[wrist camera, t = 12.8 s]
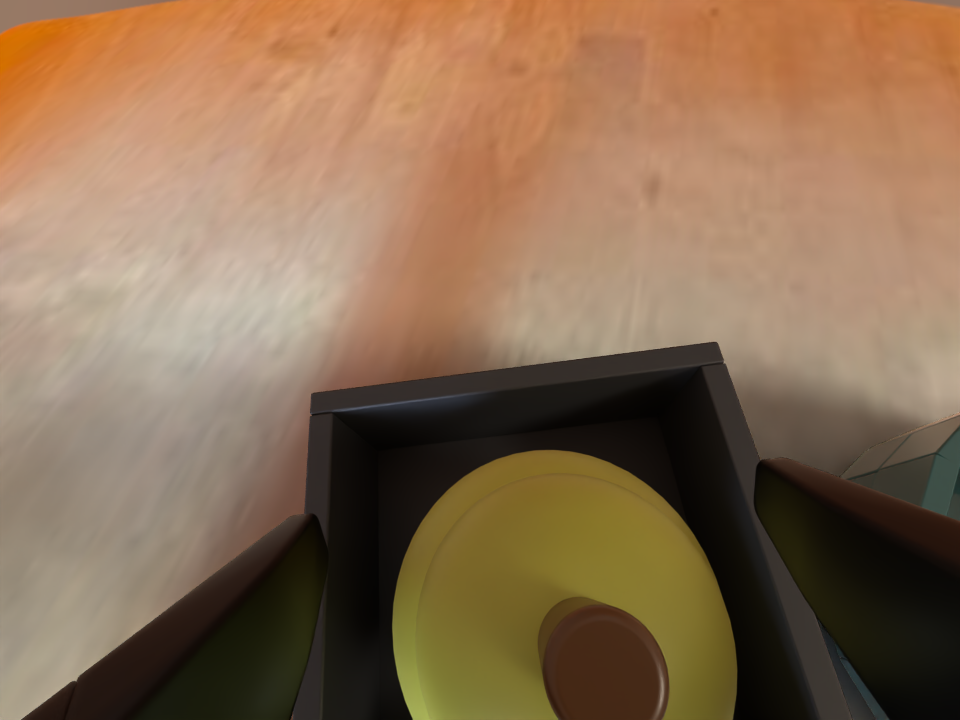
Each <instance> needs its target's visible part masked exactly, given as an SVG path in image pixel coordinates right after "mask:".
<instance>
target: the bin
mask: <svg viewBox="0 0 960 720" xmlns="http://www.w3.org/2000/svg"><path fill="white" fill-rule="evenodd" d="M310 413H311V415H312V416H310V424H309V442H308V460H307V477H306V495H305V512H304V514H310V513H313V514H315V515H316V516H317V517H318V519H319V522H320V525H321V528H322V531H323V535H324V538H325V541H326V545H327V548H328V552H329V565H328V570H327V575H326V580H325V585H324V590H323V595H322V600H321V605H320V610H319V615H318V620H317V625H316V630H315V635H314V640H313V644H312V649H311V653H310V657H309V660H308V664H307V667H306V671H305V674H304V677H303V681H302V684H301V687H300V690H299V694H298V697H297V700H296V703H295V707H294V710H293V720H413V718H412V716H411V714H410V711H409V709H408V707H407V704H406V702H405V699H404V695H403V692H402V689H401V685H400V682H399V678H398V674H397V668H396V662H395V656H394V649H393V631H392V622H393V604H394V597H395V592H396V586H397V580H398V576H399V573H400V570H401V566H402V563H403V559H404V557H405V554H406V552H407V550H408V547H409V545H410V542H411V540H412V538H413V536H414V534H415V533H416V531H417V529H418V527H419V526H420V524H421V522H422V520H423V519H424V518H425V516H426V515H427V514H428V512H429V511H430V509H431V508H432V507H433V505H434V504H435V503H436V502H437V501H438V500H439V499H440V498H441V497H442V496H443V495H444V494H445V492H446V491H447V490H448V489H449V488H451V487H452V486H453V485H454V484H456V483H457V482H458V481H459V480H461V479H462V478H463V477H464V476H466V475H468V474H469V473H471V472H472V471H474V470H476V469H477V468H479V467H481V466H483V465H485V464H487V463H490V462H492V461H494V460H496V459H499V458H502V457H506V456H509V455H512V454H516V453H522V452H528V451H534V450H559V451H570V452H576V453H580V454H585V455H589V456H593V457H595V458H598V459H601V460H604V461H607V462H609V463H612V464H614V465H616V466H618V467H620V468H622V469H624V470H626V471H628V472H629V473H631V474H632V475H634V476H635V477H637V478H638V479H640V480H641V481H643V482H644V483H646V484H647V485H648V486H650V487H651V488H652V489H653V490H654V491H656V492H657V493H658V494H659V495H660V496H662V497H663V498H664V499H665V500H666V501H667V503H668V504H669V505H670V506H671V507H672V508H673V509H674V510H675V511H676V512H677V513H678V514H679V515H680V517H681V518H682V519H683V521H684V522H685V523H686V525H687V526H688V527H689V529H690V530H691V531H692V533H693V534H694V536H695V538H696V539H697V541H698V543H699V544H700V546H701V548H702V549H703V551H704V553H705V555H706V557H707V559H708V561H709V563H710V566H711V568H712V570H713V572H714V574H715V576H716V579H717V582H718V585H719V589H720V592H721V595H722V598H723V601H724V604H725V607H726V610H727V613H728V616H729V619H730V623H731V627H732V632H733V637H734V642H735V649H736V661H737V695H736V701H735V708H734V714H733V720H853V719H852V716H851V714H850V711H849V708H848V705H847V702H846V700H845V697H844V694H843V691H842V688H841V686H840V683H839V680H838V677H837V674H836V672H835V669H834V666H833V663H832V660H831V658H830V655H829V652H828V649H827V646H826V644H825V641H824V638H823V635H822V632H821V630H820V627H819V624H818V621H817V618H816V616H815V613H814V612H813V610H812V609H811V607H810V606H809V604H808V603H807V602H806V600H805V598H804V597H803V595H802V593H801V592H800V590H799V589H798V587H797V585H796V583H795V582H794V580H793V578H792V576H791V575H790V573H789V571H788V569H787V568H786V566H785V564H784V562H783V561H782V559H781V557H780V555H779V554H778V552H777V550H776V548H775V547H774V545H773V543H772V541H771V539H770V538H769V536H768V534H767V532H766V531H765V529H764V527H763V525H762V524H761V522H760V520H759V518H758V516H757V514H756V512H755V509H754V503H753V498H754V486H755V473H756V466H757V464H758V463H759V462H760V459H759V456H758V453H757V451H756V448H755V445H754V442H753V439H752V437H751V434H750V431H749V428H748V425H747V423H746V420H745V417H744V414H743V411H742V409H741V406H740V403H739V400H738V397H737V395H736V392H735V389H734V386H733V383H732V381H731V378H730V375H729V372H728V369H727V367H726V364H724V359H723V357H722V354H721V351H720V348H719V345H718V343H717V342H709V343H701V344H693V345H686V346H678V347H670V348H662V349H654V350H646V351H639V352H631V353H623V354H615V355H607V356H599V357H591V358H584V359H576V360H568V361H560V362H552V363H544V364H536V365H529V366H521V367H513V368H505V369H497V370H489V371H482V372H474V373H466V374H458V375H450V376H442V377H434V378H427V379H419V380H411V381H403V382H395V383H387V384H379V385H372V386H364V387H356V388H348V389H340V390H332V391H325V392H317V393H312V394H311V408H310Z"/></svg>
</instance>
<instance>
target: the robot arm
mask: <svg viewBox="0 0 960 720" xmlns="http://www.w3.org/2000/svg"><path fill="white" fill-rule="evenodd" d="M753 503H754V509H755V512H756V514H757V516H758V518H759V520H760V522H761V524H762V525H763V527H764V529H765V531H766V532H767V534H768V536H769V538H770V539H771V541H772V543H773V545H774V547H775V548H776V550H777V552H778V554H779V555H780V557H781V559H782V561H783V562H784V564H785V566H786V568H787V569H788V571H789V573H790V575H791V576H792V578H793V580H794V582H795V583H796V585H797V587H798V589H799V590H800V592H801V593H802V595H803V597H804V598H805V600H806V602H807V603H808V604H809V606H810V607H811V609H812V610H813V612H814V613H815V615H816V616H817V618H818V619H819V621H820V622H821V623H822V625H823V626H824V628H825V629H826V630H827V632H828V633H829V635H830V636H831V638H832V639H833V640H834V642H835V643H836V645H837V646H838V648H839V649H840V650H841V652H842V653H843V655H844V656H845V657H846V659H847V660H848V662H849V663H850V665H851V666H852V667H853V669H854V670H855V672H856V673H857V674H858V676H859V677H860V679H861V680H862V682H863V683H864V684H865V686H866V687H867V689H868V690H869V691H870V693H871V694H872V696H873V697H874V699H875V700H876V701H877V703H878V704H879V706H880V707H881V708H882V710H883V711H884V713H885V714H886V716H887V717H888V718H889V720H960V521H958V520H956V519H953V518H950V517H947V516H945V515H942V514H939V513H936V512H934V511H931V510H928V509H925V508H923V507H920V506H917V505H914V504H912V503H909V502H906V501H903V500H901V499H898V498H895V497H892V496H890V495H887V494H884V493H881V492H879V491H876V490H873V489H870V488H868V487H865V486H862V485H859V484H857V483H854V482H851V481H848V480H846V479H843V478H840V477H837V476H835V475H832V474H829V473H826V472H824V471H821V470H818V469H815V468H813V467H810V466H807V465H804V464H802V463H799V462H796V461H793V460H791V459H788V458H775V459H767V460H761V461H760V462H759V463H758V464H757V466H756V473H755V486H754V498H753ZM328 565H329V552H328V548H327V545H326V541H325V538H324V535H323V531H322V528H321V525H320V522H319V519H318V517H317V516H316V515H315V514H313V513H310V514H301V515H293V516H290V517H289V518H288V519H286V520H285V521H284V522H282V523H281V524H280V525H278V526H277V527H276V528H274V529H273V530H272V531H270V532H269V533H268V534H266V535H265V536H264V537H262V538H261V539H260V540H258V541H257V542H256V543H254V544H253V545H252V546H250V547H249V548H248V549H247V550H245V551H244V552H243V553H241V554H240V555H239V556H237V557H236V558H235V559H233V560H232V561H231V562H229V563H228V564H227V565H225V566H224V567H223V568H221V569H220V570H219V571H217V572H216V573H215V574H213V575H212V576H211V577H209V578H208V579H207V580H206V581H204V582H203V583H202V584H200V585H199V586H198V587H196V588H195V589H194V590H192V591H191V592H190V593H188V594H187V595H186V596H184V597H183V598H182V599H180V600H179V601H178V602H176V603H175V604H174V605H172V606H171V607H170V608H168V609H167V610H166V611H165V612H163V613H162V614H161V615H159V616H158V617H157V618H155V619H154V620H153V621H151V622H150V623H149V624H147V625H146V626H145V627H143V628H142V629H141V630H139V631H138V632H137V633H135V634H134V635H133V636H131V637H130V638H129V639H127V640H126V641H125V642H124V643H122V644H121V645H120V646H118V647H117V648H116V649H114V650H113V651H112V652H110V653H109V654H108V655H106V656H105V657H104V658H102V659H101V660H100V661H98V662H97V663H96V664H94V665H93V666H92V667H90V668H89V669H88V670H86V671H85V672H84V673H83V674H81V675H80V676H79V677H78V679H77V682H76V681H72V682H70V683H69V684H68V685H66V686H65V687H64V688H62V689H61V690H60V691H59V692H57V693H56V694H55V695H53V696H52V697H51V698H49V699H48V700H47V701H45V702H44V703H43V704H41V705H40V706H39V707H37V708H36V709H35V710H33V711H32V712H31V713H29V714H28V715H27V716H25V717H24V718H23V719H21V720H291V716H292V713H293V710H294V707H295V703H296V700H297V697H298V694H299V690H300V687H301V684H302V681H303V677H304V674H305V671H306V667H307V664H308V660H309V657H310V653H311V649H312V644H313V640H314V635H315V630H316V625H317V620H318V615H319V610H320V605H321V600H322V595H323V590H324V585H325V580H326V575H327V570H328Z"/></svg>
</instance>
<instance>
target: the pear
mask: <svg viewBox="0 0 960 720" xmlns="http://www.w3.org/2000/svg"><path fill="white" fill-rule="evenodd" d="M392 631H393V649H394V656H395V662H396V668H397V674H398V678H399V682H400V685H401V689H402V692H403V695H404V699H405V702H406V704H407V707H408V709H409V711H410V714H411V716H412V718H413V720H733V714H734V708H735V701H736V695H737V661H736V649H735V642H734V637H733V632H732V627H731V623H730V619H729V616H728V613H727V610H726V607H725V604H724V601H723V598H722V595H721V592H720V589H719V585H718V582H717V579H716V576H715V574H714V572H713V570H712V568H711V566H710V563H709V561H708V559H707V557H706V555H705V553H704V551H703V549H702V548H701V546H700V544H699V543H698V541H697V539H696V538H695V536H694V534H693V533H692V531H691V530H690V529H689V527H688V526H687V525H686V523H685V522H684V521H683V519H682V518H681V517H680V515H679V514H678V513H677V512H676V511H675V510H674V509H673V508H672V507H671V506H670V505H669V504H668V503H667V501H666V500H665V499H664V498H663V497H662V496H660V495H659V494H658V493H657V492H656V491H654V490H653V489H652V488H651V487H650V486H648V485H647V484H646V483H644V482H643V481H641V480H640V479H638V478H637V477H635V476H634V475H632V474H631V473H629V472H628V471H626V470H624V469H622V468H620V467H618V466H616V465H614V464H612V463H609V462H607V461H604V460H601V459H598V458H595V457H593V456H589V455H585V454H580V453H576V452H570V451H559V450H534V451H528V452H522V453H516V454H512V455H509V456H506V457H502V458H499V459H496V460H494V461H492V462H490V463H487V464H485V465H483V466H481V467H479V468H477V469H476V470H474V471H472V472H471V473H469V474H468V475H466V476H464V477H463V478H462V479H461V480H459V481H458V482H457V483H456V484H454V485H453V486H452V487H451V488H449V489H448V490H447V491H446V492H445V494H444V495H443V496H442V497H441V498H440V499H439V500H438V501H437V502H436V503H435V504H434V505H433V507H432V508H431V509H430V511H429V512H428V514H427V515H426V516H425V518H424V519H423V520H422V522H421V524H420V526H419V527H418V529H417V531H416V533H415V534H414V536H413V538H412V540H411V542H410V545H409V547H408V550H407V552H406V554H405V557H404V559H403V563H402V566H401V570H400V573H399V576H398V580H397V586H396V592H395V597H394V604H393V622H392Z"/></svg>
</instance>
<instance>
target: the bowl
mask: <svg viewBox="0 0 960 720" xmlns="http://www.w3.org/2000/svg"><path fill="white" fill-rule="evenodd" d="M840 478H843V479H846V480H848V481H851V482H854V483H857V484H859V485H862V486H865V487H868V488H870V489H873V490H876V491H879V492H881V493H884V494H887V495H890V496H892V497H895V498H898V499H901V500H903V501H906V502H909V503H912V504H914V505H917V506H920V507H923V508H925V509H928V510H931V511H934V512H936V513H939V514H942V515H945V516H947V517H950V518H953V519H956V520H958V521H960V412H959V413H956V414H953V415H951V416H948V417H945V418H943V419H940V420H938V421H935V422H932V423H930V424H927V425H924V426H922V427H919V428H916V429H914V430H911V431H908V432H906V433H904V434H901V435H899V436H897V437H894V438H892V439H890V440H887V441H885V442H883V443H880V444H878V445H876V446H873V447H871V448H870V449H869V450H866V451H865V452H864V453H863V454H862V455H861V456H860V457H859V458H858V459H857V460H856V461H855V462H854V463H853V464H852V465H851V466H850V467H849V468H848V469H847V470H846V471H845V472H844V473H843V475H842V476H841V477H840ZM833 641H834V640H833ZM834 644H835V647H836V650H837V653H838V656H839V657H840V661H841V662H842V664H843V666H844V667H845V669H846V670H847V672H848V674H849V675H850V677H851V679H852V680H853V682H854V684H855V685H856V687H857V688H858V690H859V692H860V693H861V695H862V697H863V698H864V700H865V702H866V703H867V705H868V706H869V708H870V710H871V711H872V713H873V715H874V716H875V718H876V719H877V720H889V718H888V717H887V716H886V714H885V713H884V711H883V710H882V708H881V707H880V706H879V704H878V703H877V701H876V700H875V699H874V697H873V696H872V694H871V693H870V691H869V690H868V689H867V687H866V686H865V684H864V683H863V682H862V680H861V679H860V677H859V676H858V674H857V673H856V672H855V670H854V669H853V667H852V666H851V665H850V663H849V662H848V660H847V659H846V657H845V656H844V655H843V653H842V652H841V650H840V649H839V648H838V646H837V645H836V643H835V642H834Z"/></svg>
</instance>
